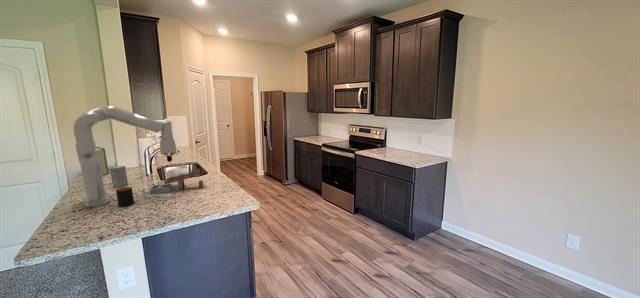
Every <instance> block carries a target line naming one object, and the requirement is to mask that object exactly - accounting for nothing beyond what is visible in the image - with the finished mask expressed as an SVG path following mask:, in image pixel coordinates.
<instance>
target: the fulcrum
mask: <svg viewBox="0 0 640 298" xmlns="http://www.w3.org/2000/svg"><path fill="white" fill-rule="evenodd" d="M187 186H189V185H188V184H187V185H186V184H185V179H184V180H177V189H175V193H179V192H178V191H183V192H186V190H187V188H188V187H187ZM185 189H186V190H185Z"/></svg>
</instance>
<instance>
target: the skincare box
mask: <svg viewBox="0 0 640 298" xmlns="http://www.w3.org/2000/svg"><path fill="white" fill-rule="evenodd" d="M109 174H110V178H111V182H112V188H113V189H116V188H117V189H120V188H125V187H127V186H128V185H129V181H128V176H127V170H126V166H125V165H116V166H113V167H110V168H109Z"/></svg>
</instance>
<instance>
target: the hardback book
mask: <svg viewBox="0 0 640 298" xmlns="http://www.w3.org/2000/svg"><path fill="white" fill-rule="evenodd" d="M96 154H97V158H98V159H99V161H100V164H101V172H102V176H103V175H109V174H110V171H109V167H108V160H107V155H106V154H107V153H106V150H105V148H104V147H101V146H96Z"/></svg>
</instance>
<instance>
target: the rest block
mask: <svg viewBox="0 0 640 298" xmlns="http://www.w3.org/2000/svg"><path fill="white" fill-rule="evenodd" d="M202 187H203V188H204V181H203V180H199V181H198V188H199V189H203V188H202Z"/></svg>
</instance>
